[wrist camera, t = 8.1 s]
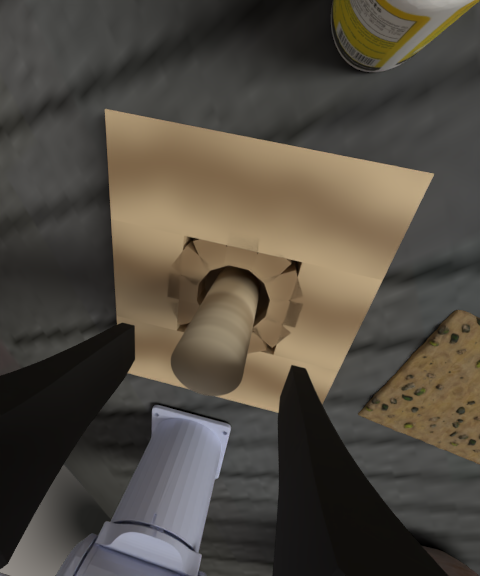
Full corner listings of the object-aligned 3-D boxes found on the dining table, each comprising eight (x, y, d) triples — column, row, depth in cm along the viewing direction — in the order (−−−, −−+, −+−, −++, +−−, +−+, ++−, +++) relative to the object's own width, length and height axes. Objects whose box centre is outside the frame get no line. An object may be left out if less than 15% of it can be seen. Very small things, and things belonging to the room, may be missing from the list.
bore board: (311, 396, 22) (313, 422, 20) (134, 351, 23) (119, 370, 21) (411, 171, 14) (434, 173, 12) (130, 116, 15) (104, 109, 13)
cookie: (352, 411, 23) (355, 421, 22) (452, 302, 17) (460, 310, 16) (476, 461, 23) (483, 472, 22) (614, 370, 17) (631, 380, 17)
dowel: (253, 312, 19) (232, 404, 12) (211, 299, 19) (166, 382, 12) (266, 274, 17) (252, 353, 10) (220, 260, 18) (175, 328, 10)
